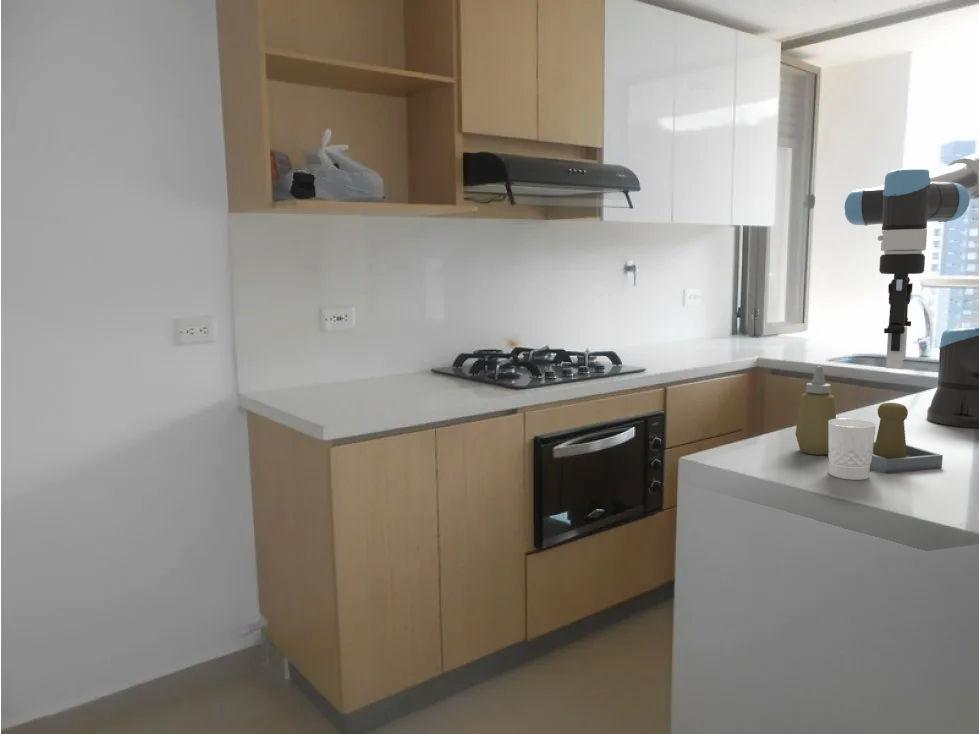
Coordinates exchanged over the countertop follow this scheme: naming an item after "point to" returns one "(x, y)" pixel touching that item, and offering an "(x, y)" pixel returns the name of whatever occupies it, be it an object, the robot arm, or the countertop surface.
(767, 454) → the countertop surface
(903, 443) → the cork
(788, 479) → the countertop surface
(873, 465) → the tray
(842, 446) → the white cup
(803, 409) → the squeeze bottle
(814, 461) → the countertop surface
